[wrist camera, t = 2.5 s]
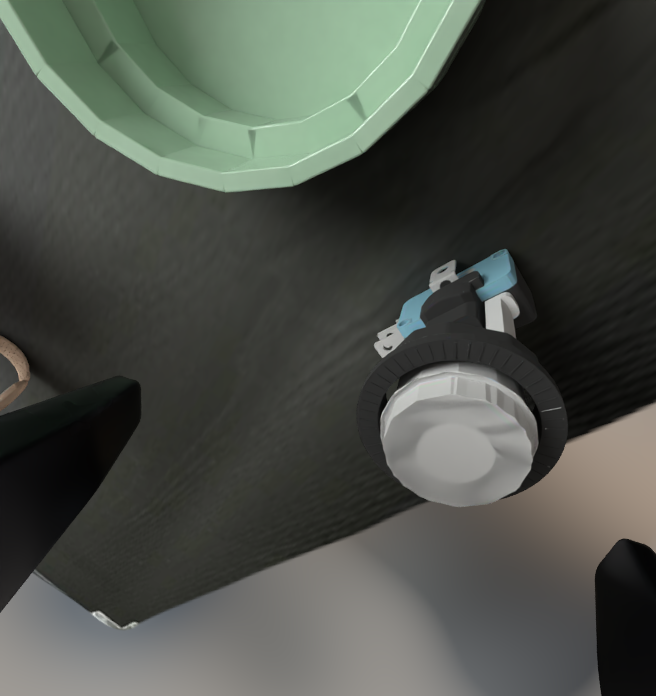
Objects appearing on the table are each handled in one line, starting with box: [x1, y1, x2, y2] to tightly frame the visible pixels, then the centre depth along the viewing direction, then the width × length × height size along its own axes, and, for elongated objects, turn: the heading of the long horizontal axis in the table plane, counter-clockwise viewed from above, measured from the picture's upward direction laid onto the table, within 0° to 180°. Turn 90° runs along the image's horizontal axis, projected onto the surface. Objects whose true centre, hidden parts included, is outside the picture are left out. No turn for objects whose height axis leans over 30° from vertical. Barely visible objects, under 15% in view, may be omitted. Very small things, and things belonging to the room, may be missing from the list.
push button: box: [357, 249, 568, 507], centre depth 17 cm, size 7×5×10 cm
